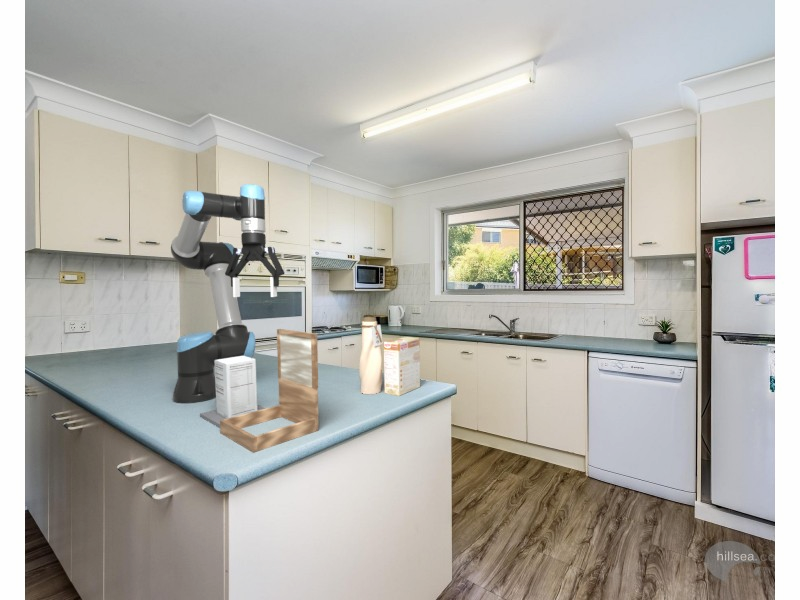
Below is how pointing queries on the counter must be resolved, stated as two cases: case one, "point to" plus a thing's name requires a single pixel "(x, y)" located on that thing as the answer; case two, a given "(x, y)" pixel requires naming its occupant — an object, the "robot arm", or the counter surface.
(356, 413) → the counter surface
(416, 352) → the coffeecake box
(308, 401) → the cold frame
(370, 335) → the water bottle
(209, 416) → the mat
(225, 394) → the supplement box
